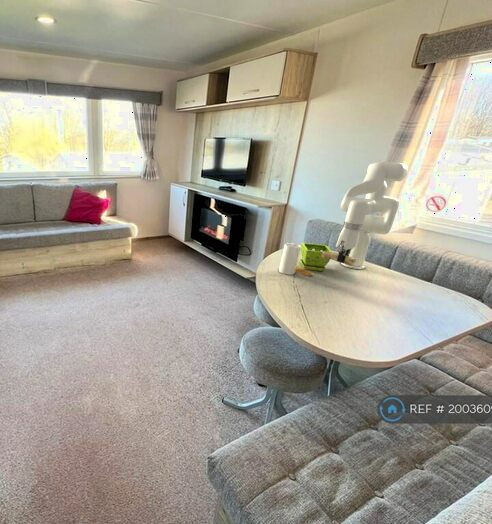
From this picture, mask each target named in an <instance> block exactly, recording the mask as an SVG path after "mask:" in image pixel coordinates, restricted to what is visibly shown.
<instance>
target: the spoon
mask: <svg viewBox="0 0 492 524" xmlns="http://www.w3.org/2000/svg"><path fill="white" fill-rule="evenodd" d="M322 251H323V250H322ZM338 253H339V252H338V251H332V252H327V251H323V253H322V257H323V258H326V259H330V260H332V261H335V262H337V258H338V255H339V254H338ZM345 256H346V255H345ZM355 262H356V258H353V257H349V256H346V257H345V260H344V264H347V265H350V266H354V265H355Z"/></svg>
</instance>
